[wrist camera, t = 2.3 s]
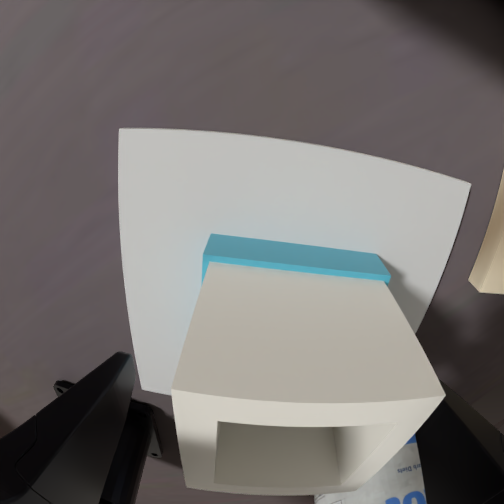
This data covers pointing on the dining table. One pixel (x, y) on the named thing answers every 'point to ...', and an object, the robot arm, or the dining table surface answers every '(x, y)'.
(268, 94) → the dining table surface
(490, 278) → the pin board
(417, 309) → the mat
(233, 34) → the dining table surface
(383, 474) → the supplement tub
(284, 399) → the sleeve
